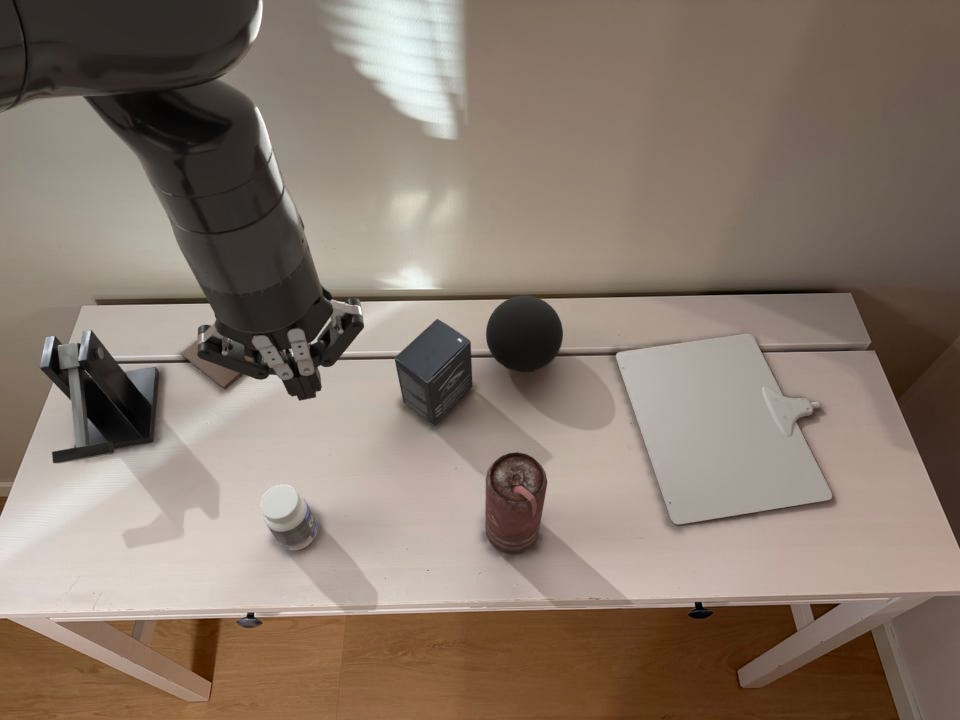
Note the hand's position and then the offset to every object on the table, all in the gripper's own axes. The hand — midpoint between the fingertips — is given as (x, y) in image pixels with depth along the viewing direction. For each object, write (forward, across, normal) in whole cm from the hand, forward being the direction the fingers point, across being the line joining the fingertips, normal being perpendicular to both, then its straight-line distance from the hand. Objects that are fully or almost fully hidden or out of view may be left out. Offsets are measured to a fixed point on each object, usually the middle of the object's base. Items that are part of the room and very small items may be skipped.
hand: (307, 390), depth 57 cm
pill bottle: (+25, -7, -1) cm, 26 cm away
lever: (+16, -28, +16) cm, 36 cm away
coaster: (+25, -14, +27) cm, 39 cm away
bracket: (+25, -28, +20) cm, 43 cm away
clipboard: (+26, +48, +1) cm, 55 cm away
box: (+26, +12, +13) cm, 31 cm away
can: (+26, +17, -7) cm, 32 cm away
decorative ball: (+26, +25, +16) cm, 39 cm away
